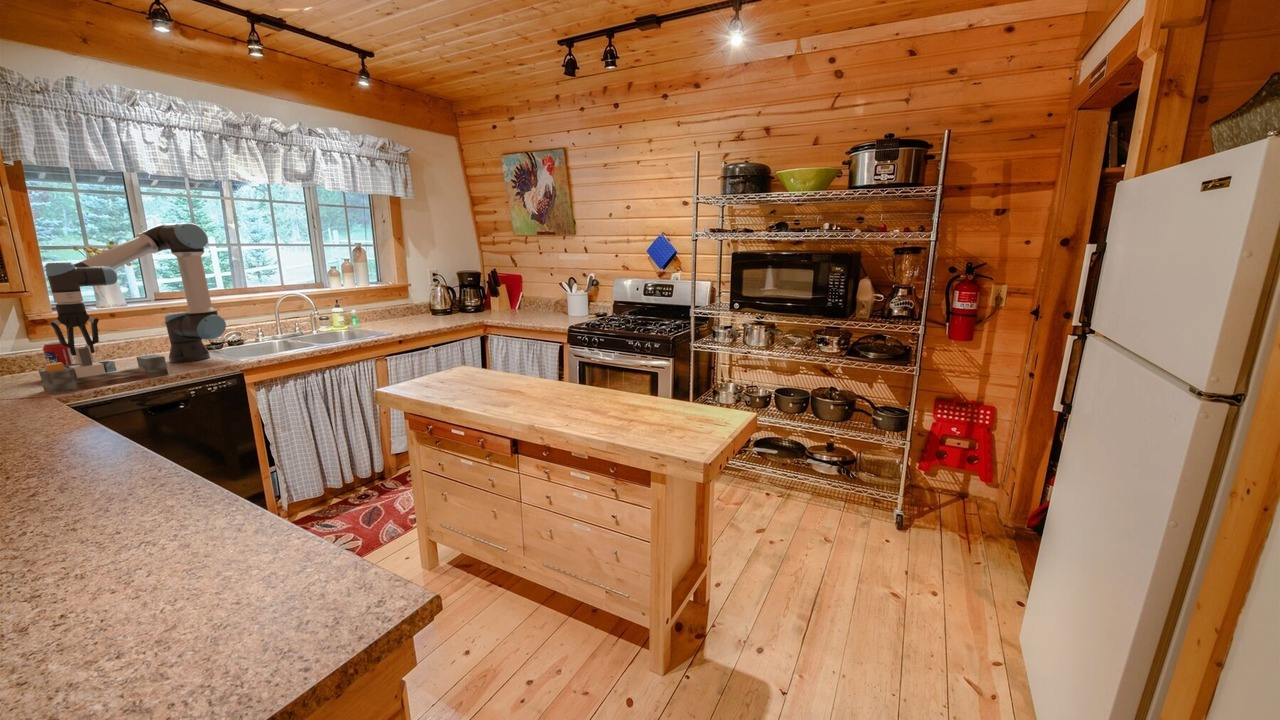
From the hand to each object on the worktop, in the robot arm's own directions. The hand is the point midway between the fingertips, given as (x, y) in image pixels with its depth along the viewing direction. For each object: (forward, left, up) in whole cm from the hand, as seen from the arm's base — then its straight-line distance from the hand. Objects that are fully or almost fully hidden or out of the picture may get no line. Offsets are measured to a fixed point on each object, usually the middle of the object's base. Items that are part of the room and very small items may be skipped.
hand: (85, 362), depth 201 cm
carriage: (0, 0, -5) cm, 5 cm away
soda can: (+1, -33, -10) cm, 35 cm away
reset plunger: (+8, 0, -3) cm, 9 cm away
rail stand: (-5, 0, -10) cm, 11 cm away
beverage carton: (-3, -22, -10) cm, 24 cm away
